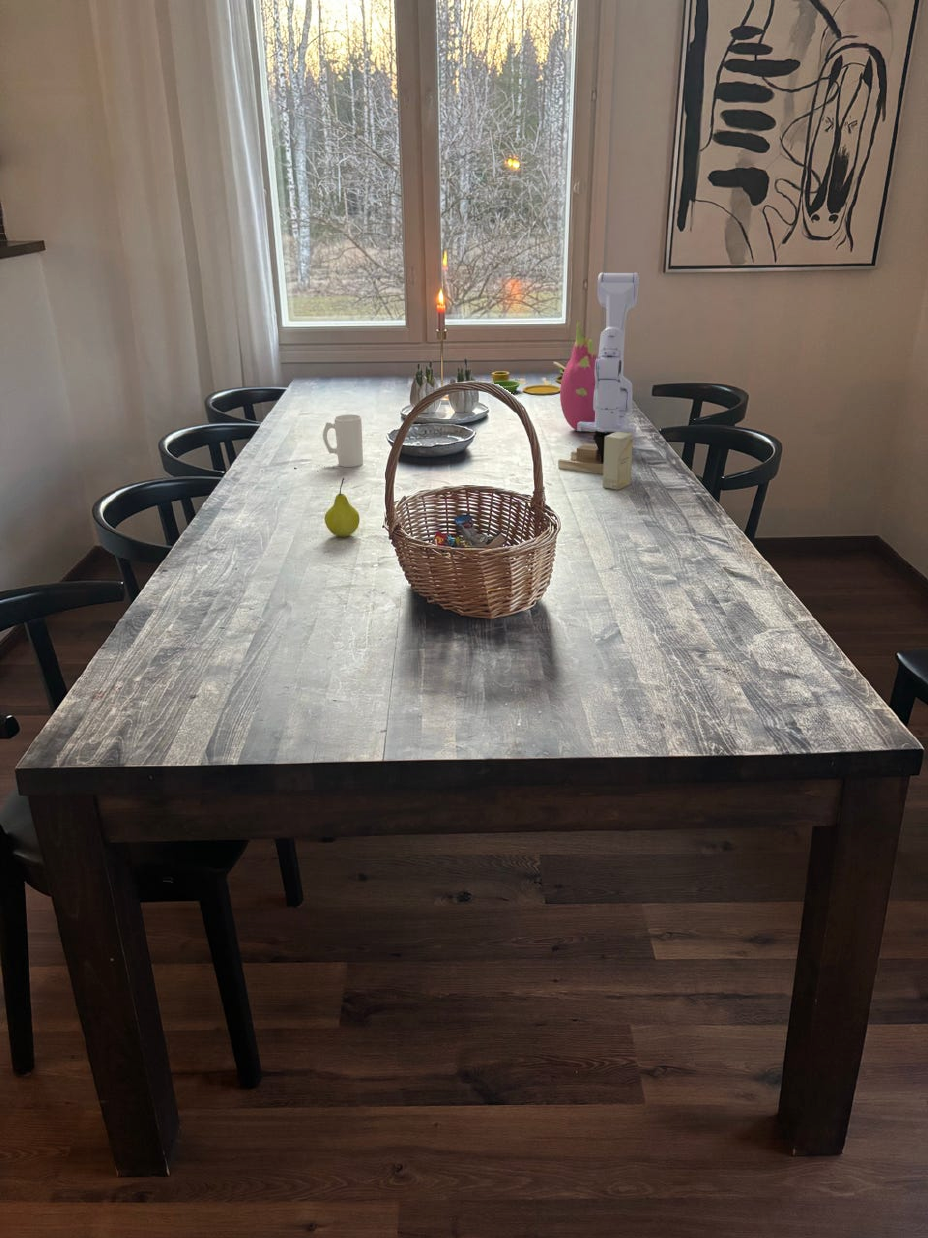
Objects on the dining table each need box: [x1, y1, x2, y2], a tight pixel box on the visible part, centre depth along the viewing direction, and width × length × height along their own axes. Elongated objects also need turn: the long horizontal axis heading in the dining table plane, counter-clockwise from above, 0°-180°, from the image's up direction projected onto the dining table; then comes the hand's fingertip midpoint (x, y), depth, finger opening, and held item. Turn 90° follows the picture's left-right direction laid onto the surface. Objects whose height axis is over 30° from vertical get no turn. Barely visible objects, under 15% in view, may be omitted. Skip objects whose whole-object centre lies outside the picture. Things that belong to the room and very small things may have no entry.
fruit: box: [323, 477, 361, 538], centre depth 196 cm, size 7×7×12 cm
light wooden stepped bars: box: [557, 450, 604, 475], centre depth 240 cm, size 9×12×2 cm
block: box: [575, 443, 603, 465], centre depth 239 cm, size 5×5×5 cm
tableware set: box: [491, 361, 566, 396], centre depth 326 cm, size 41×28×6 cm
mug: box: [322, 413, 364, 468], centre depth 244 cm, size 10×7×12 cm, turn 86°
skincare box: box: [602, 431, 634, 491], centre depth 223 cm, size 6×4×12 cm
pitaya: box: [559, 321, 598, 432], centre depth 265 cm, size 18×14×30 cm
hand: (604, 461), depth 238 cm, fingers closed
